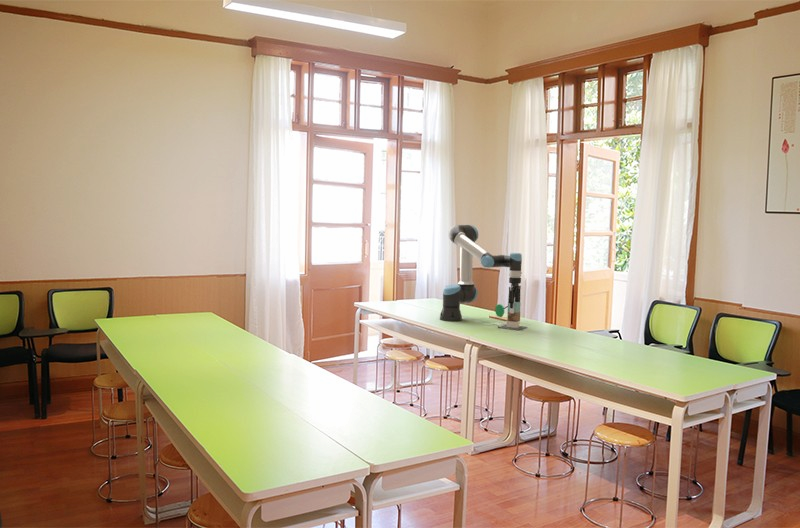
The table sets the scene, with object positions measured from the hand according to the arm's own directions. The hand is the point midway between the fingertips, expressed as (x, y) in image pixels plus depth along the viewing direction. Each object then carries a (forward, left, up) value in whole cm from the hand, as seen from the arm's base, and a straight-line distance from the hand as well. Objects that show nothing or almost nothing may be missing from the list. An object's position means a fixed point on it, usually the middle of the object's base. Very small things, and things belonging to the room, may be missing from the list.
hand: (514, 312), depth 427 cm
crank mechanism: (-18, +25, -10) cm, 33 cm away
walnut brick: (0, 0, -5) cm, 5 cm away
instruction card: (-10, +6, -10) cm, 15 cm away
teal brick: (0, 0, +1) cm, 1 cm away
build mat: (0, 0, -10) cm, 10 cm away
